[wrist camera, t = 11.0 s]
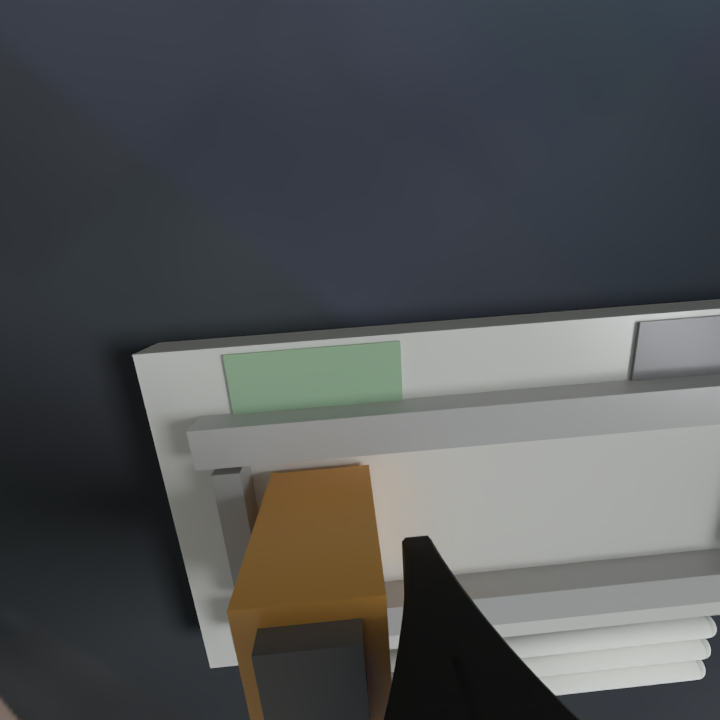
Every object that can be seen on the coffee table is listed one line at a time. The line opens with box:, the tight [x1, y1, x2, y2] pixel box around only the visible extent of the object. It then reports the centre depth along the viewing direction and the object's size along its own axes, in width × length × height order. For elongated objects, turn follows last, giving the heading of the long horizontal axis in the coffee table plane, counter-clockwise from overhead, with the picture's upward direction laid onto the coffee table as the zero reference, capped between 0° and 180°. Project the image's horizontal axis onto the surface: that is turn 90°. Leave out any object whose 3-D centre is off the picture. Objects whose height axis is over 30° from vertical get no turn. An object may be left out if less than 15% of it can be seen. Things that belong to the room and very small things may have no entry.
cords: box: [390, 616, 717, 695], centre depth 15 cm, size 19×3×1 cm, turn 94°
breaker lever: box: [227, 465, 392, 720], centre depth 9 cm, size 4×3×5 cm
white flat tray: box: [132, 299, 720, 668], centre depth 12 cm, size 12×22×2 cm, turn 94°
